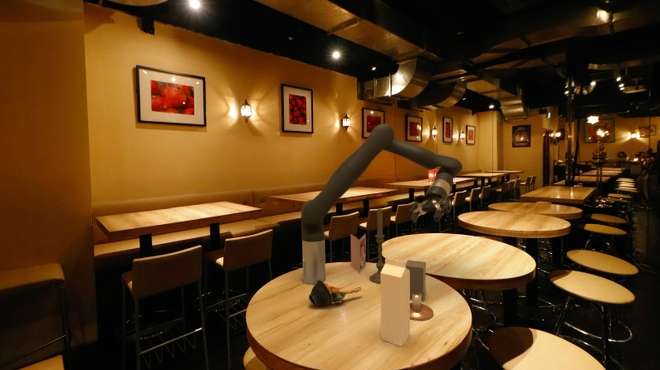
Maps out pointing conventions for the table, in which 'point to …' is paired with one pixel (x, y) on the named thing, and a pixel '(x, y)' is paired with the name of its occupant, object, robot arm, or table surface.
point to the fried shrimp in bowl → (328, 294)
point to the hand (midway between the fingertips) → (423, 220)
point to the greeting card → (358, 253)
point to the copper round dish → (419, 309)
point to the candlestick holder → (379, 248)
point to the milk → (395, 302)
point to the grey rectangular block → (417, 277)
